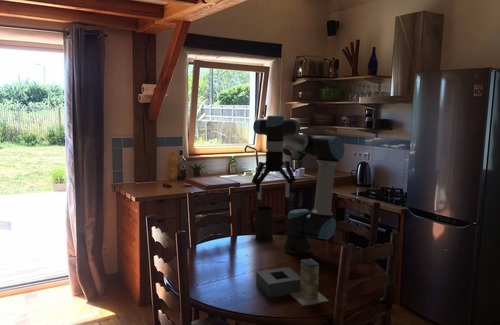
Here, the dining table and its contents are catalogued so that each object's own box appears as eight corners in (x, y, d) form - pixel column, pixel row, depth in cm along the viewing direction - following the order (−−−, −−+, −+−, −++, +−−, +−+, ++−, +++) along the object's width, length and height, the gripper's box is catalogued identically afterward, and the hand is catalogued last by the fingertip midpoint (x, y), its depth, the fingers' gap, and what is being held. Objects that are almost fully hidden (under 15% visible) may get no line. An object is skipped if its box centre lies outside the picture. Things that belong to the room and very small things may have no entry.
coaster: (313, 289, 179) (313, 288, 179) (328, 301, 168) (328, 300, 168) (289, 293, 175) (289, 292, 175) (302, 306, 164) (302, 304, 164)
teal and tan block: (310, 292, 175) (311, 258, 173) (317, 298, 169) (319, 263, 167) (299, 293, 174) (300, 259, 172) (307, 300, 168) (308, 265, 166)
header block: (288, 279, 189) (288, 267, 188) (302, 292, 176) (303, 279, 175) (256, 284, 183) (256, 271, 183) (268, 297, 170) (269, 284, 170)
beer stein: (276, 238, 248) (274, 205, 246) (271, 243, 238) (269, 210, 236) (252, 236, 254) (250, 205, 251) (246, 242, 244) (244, 209, 241)
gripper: (296, 149, 187) (294, 194, 190) (244, 150, 178) (244, 198, 181) (303, 150, 180) (302, 198, 183) (251, 152, 171) (250, 201, 174)
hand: (273, 198), depth 182 cm, fingers open, 13 cm apart
